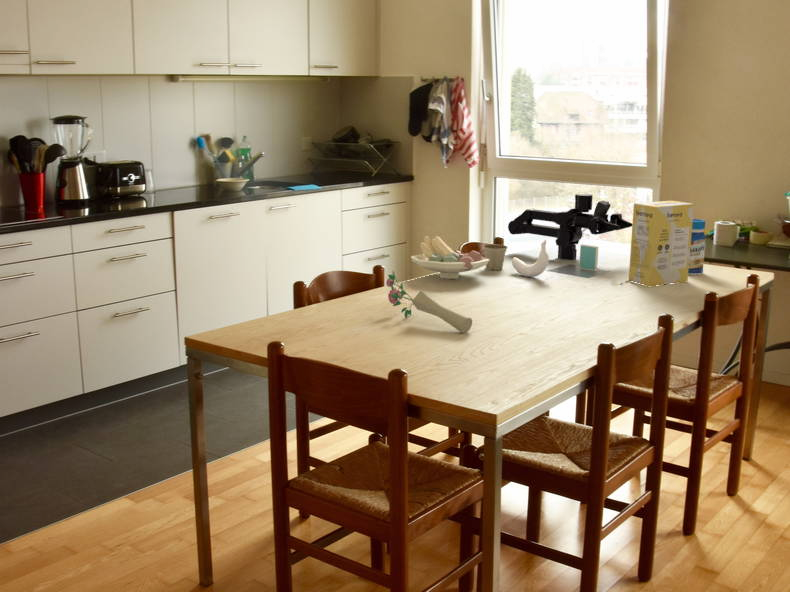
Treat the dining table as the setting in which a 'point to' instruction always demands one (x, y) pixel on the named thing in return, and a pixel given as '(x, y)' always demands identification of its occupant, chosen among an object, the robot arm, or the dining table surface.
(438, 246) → the dish with food
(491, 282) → the dining table surface
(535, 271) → the banana
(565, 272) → the slate board
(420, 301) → the flower vase
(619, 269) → the dining table surface
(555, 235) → the robot arm
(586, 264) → the tile
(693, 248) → the beverage bottle
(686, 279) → the pasta box
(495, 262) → the flower pot
